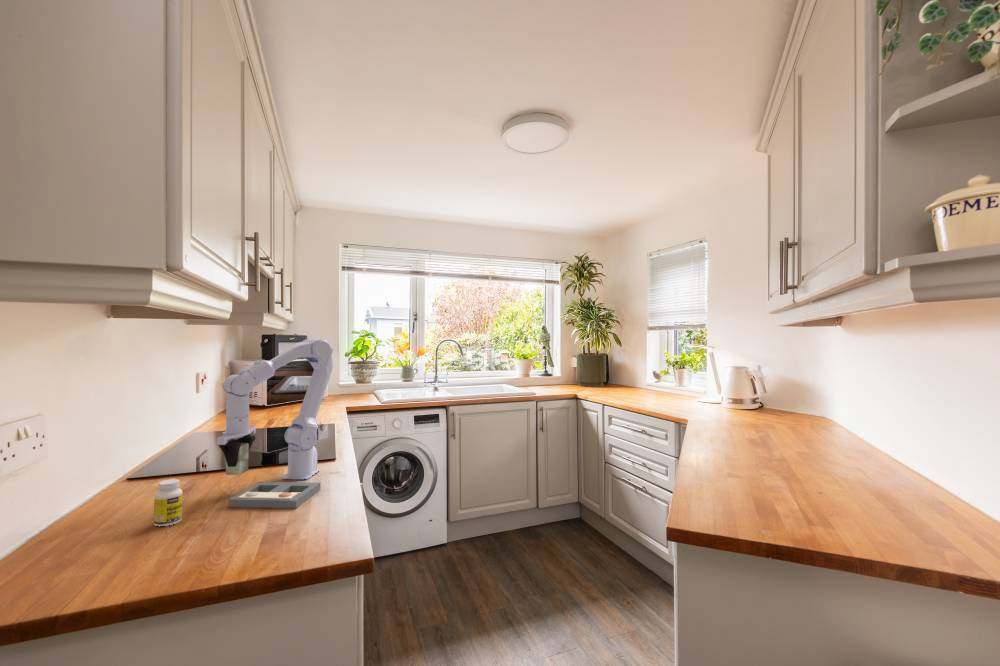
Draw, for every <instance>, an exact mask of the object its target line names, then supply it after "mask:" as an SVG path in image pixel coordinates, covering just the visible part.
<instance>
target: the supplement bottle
mask: <svg viewBox="0 0 1000 666" xmlns="http://www.w3.org/2000/svg"><path fill="white" fill-rule="evenodd" d="M158 490H159V491H157V492H156V493H155V494H154V498H153V499H154V503H153V525H154V526H155V527H157V526H159V527H158V528H161V527H160V526H165V527H170V526H173V524H174V525H176V524H179V523H180V522H181V521H182V519H183V499H184V498H183V495H184V492H183V489H181V488H180V479H177V478H173V479H172V478H171V479H165V480H162V481H160V482H158ZM169 525H170V526H169Z"/></svg>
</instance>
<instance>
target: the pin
mask: <svg viewBox="0 0 1000 666" xmlns="http://www.w3.org/2000/svg"><path fill="white" fill-rule="evenodd" d="M248 448H249V443H242V444H241V446H240V449H239V453H238V461H237V465H236V466H235V467H228V465H227V462H226V461H225V476H226V475H227V476H228V475H229V476H240V475H243V474H244V473H246V472H248V471H249V454H248Z"/></svg>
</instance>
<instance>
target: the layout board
mask: <svg viewBox="0 0 1000 666" xmlns="http://www.w3.org/2000/svg"><path fill="white" fill-rule="evenodd" d="M321 487H322V485H321V482H306V481H305V482H303V481H302V482H300V481H299V482H298V481H297V482H295V481H291V482H289V481H258V482H257V483H256V484H253V485H252V486H249V488H246V489H245V490H242V491H241V492H239V493H237V494H236V495H234V496H232V497H230V498H229V499H228V508H253V509H254V508H255V509H256V508H257V509H259V508H262V509H263V508H264V509H266V508H267V509H268V508H269V509H297V508H299V507H300V506H301V505H302V503H303V504H304V503H305V502H306V501H309V499H310V498H312V497H313V496H314V495H316V494H317V493H318V492H319V491H321ZM291 492H301V493H291ZM315 493H316V494H315ZM298 506H299V507H298Z"/></svg>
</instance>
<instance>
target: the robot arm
mask: <svg viewBox="0 0 1000 666" xmlns="http://www.w3.org/2000/svg"><path fill="white" fill-rule="evenodd" d="M333 352H334V348H333V347H332V346H331V344H330V342H329V341H328V340H326V339H325V338H320V339H313V338H312V339H310V338H305V339H304V340H301V341H299V342H297V343H295V344H293V345H292V346H291V347H289V348H288V349H286V350H284V351H283V352H281V353H279V354H278V355H276V356H274V357H273V358H272V359H270V360H265V359H261V360H259V359H257V360H255V361H254V362H253V363H254V364H252V365H251V366H249V367H246V368H245V369H240V370H238V374H231V375H229V376H227V377H226V379H225V380H224V382H223V384H222V388H223V392H225V393H226V398H225V431H223V432H221V433H222V435H220V436H218V437H216V445H217V446H218V447H219V448H220V449H221V450H220V451H222V453H223V455H224V458H225V463H226V462H227V465H228V467H235V466H236V465H237V461H238V453H239V449H240V446H241V444H242V443H249V448H248V455H249V454H250V450H251V447H252V446H253V443H254V441H256V435H255V434H257V427H256V426H250V393H251V392H252V391H253V390H254V388H255V387H256V386H258V385H260V384H262V383H263V382H265V381H267V380H269V379H271V378H272V377H274V375H275V373H276V371H277V370H279V368H282V367H284V366H285V365H287V364H289V363H291V362H293V361H295V360H297V359H300V358H304V359H305V360H306V361H307V362H309V363H310V365H311V367H312V368H313V372H312V375H311V378H310V380H309V382H308V386H307V389H306V393H305V395H304V398H303V400H302V404H301V406H300V410H299V413H298V415H297V416H296V417H295V418H294V419H293V420H292V421H291V424H290V426H289V427H288V428H287V429H286V431H285V432H284V440H285V442H286V443H287V444H288V448H287V452H288V453H287V459H288V460H287V474H286V475H284V476H282V478H281V479H282V480H304V479H306V480H308V479H310V478H311V477H313V476H314V475H315V473H316V474H317V473H319V472H320V471H321V469H319V468H318V450H317V448H316V447H315V444H316V443H317V441H318V429H319V426H318V422H317V420H316V419H317V417H318V414H319V410H320V407H321V405H322V401H323V398H324V395H325V393H326V390H327V387H328V383H329V380H330V378H331V374H332V372H333V367H334V366H333V358H332V356H333ZM318 471H319V472H318ZM312 475H313V476H312Z"/></svg>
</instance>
